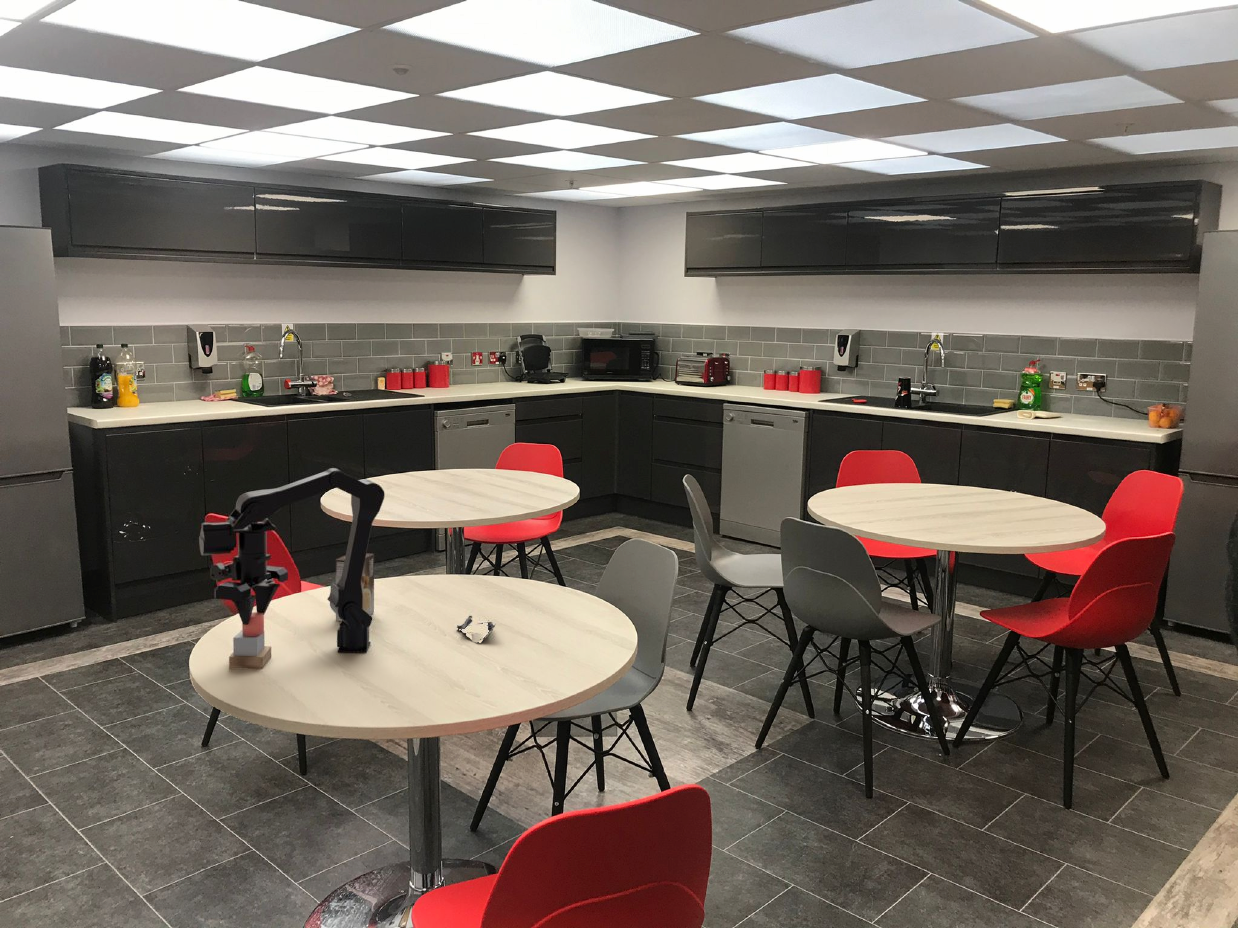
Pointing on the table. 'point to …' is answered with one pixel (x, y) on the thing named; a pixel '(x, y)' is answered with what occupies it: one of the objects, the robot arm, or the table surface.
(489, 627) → the snack package
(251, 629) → the red cylinder
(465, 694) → the table surface
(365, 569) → the coffee box
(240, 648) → the grey block
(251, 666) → the walnut slab
